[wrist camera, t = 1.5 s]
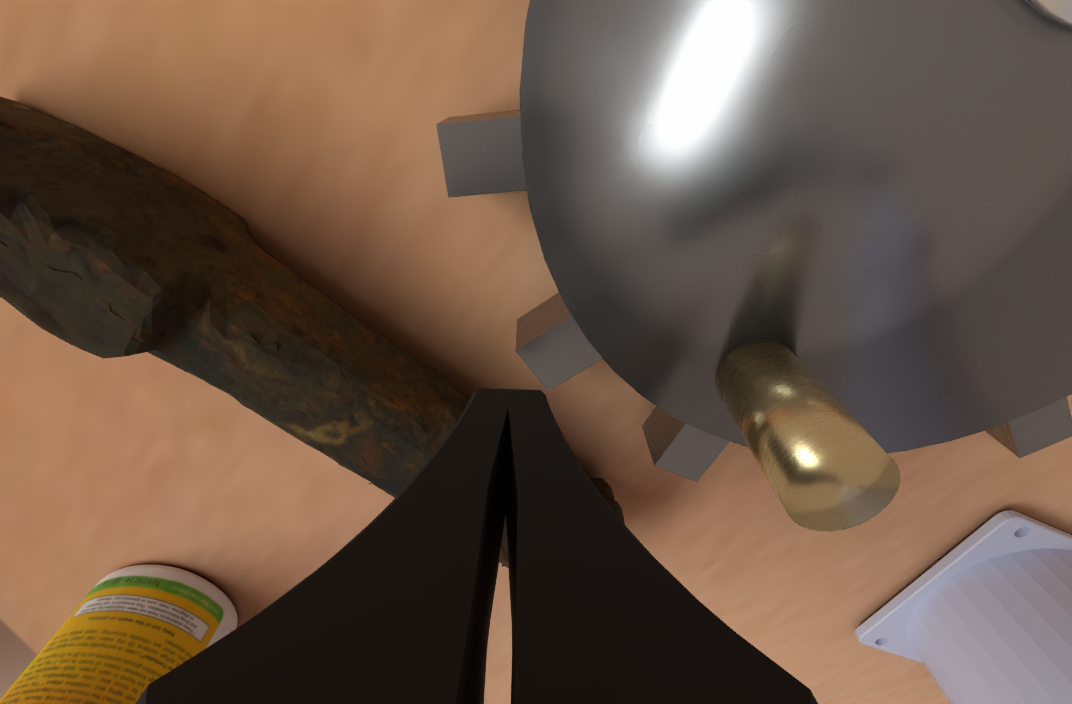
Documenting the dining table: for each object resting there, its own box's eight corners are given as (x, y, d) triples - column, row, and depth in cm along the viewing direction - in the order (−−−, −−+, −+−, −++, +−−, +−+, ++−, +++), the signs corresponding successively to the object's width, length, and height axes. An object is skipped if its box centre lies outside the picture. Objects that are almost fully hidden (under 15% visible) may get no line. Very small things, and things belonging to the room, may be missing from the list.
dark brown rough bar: (620, 469, 18) (648, 586, 14) (537, 529, 19) (540, 652, 15) (61, -3, 11) (-207, -50, 7) (-8, 137, 12) (-268, 164, 8)
